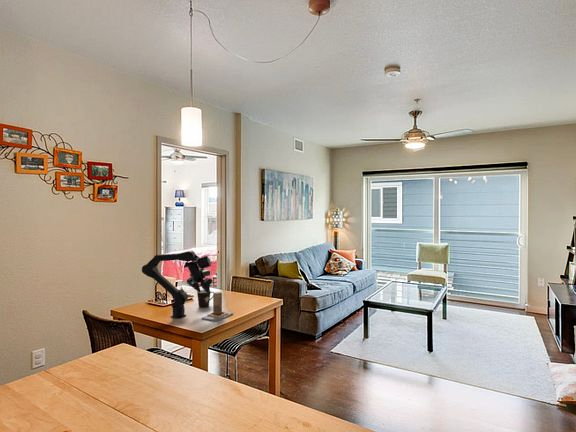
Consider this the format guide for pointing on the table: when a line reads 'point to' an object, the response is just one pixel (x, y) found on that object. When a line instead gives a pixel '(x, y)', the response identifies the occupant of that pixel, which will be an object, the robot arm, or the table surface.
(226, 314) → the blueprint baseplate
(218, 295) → the walnut post
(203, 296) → the coffee mug
